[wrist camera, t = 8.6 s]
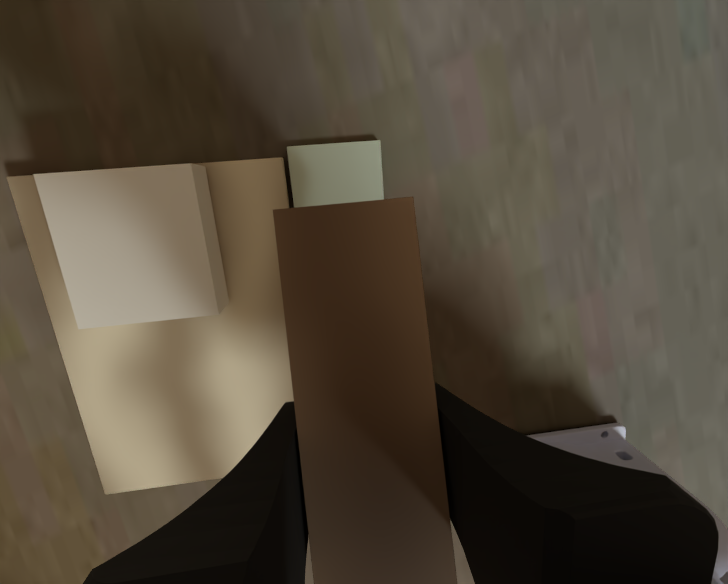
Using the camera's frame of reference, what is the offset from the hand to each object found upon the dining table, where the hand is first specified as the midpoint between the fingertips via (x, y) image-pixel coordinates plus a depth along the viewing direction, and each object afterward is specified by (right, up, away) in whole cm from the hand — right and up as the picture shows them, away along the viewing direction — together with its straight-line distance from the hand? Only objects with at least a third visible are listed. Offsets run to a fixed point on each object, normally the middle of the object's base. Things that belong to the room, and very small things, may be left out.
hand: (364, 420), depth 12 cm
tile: (-10, +3, +6) cm, 12 cm away
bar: (0, +1, +3) cm, 4 cm away
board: (-9, +2, +8) cm, 13 cm away
